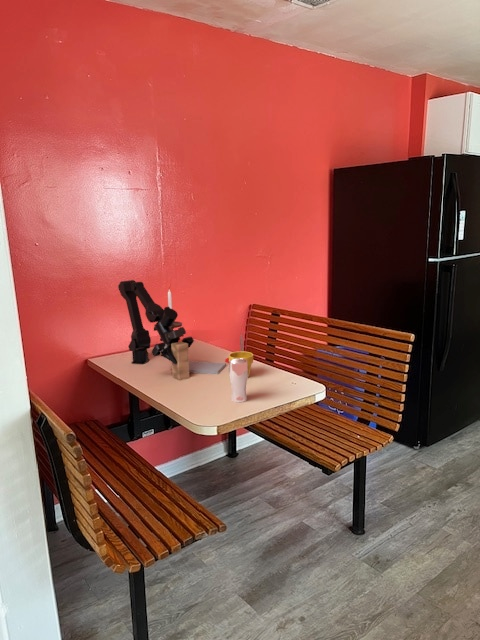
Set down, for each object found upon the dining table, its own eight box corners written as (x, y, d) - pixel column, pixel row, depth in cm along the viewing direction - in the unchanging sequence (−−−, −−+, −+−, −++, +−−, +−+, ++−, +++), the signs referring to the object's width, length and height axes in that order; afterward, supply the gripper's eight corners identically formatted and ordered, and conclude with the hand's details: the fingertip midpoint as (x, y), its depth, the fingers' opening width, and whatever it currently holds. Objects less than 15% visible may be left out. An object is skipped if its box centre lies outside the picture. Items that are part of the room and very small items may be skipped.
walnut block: (172, 377, 204) (171, 343, 201) (182, 374, 207) (181, 341, 204) (179, 380, 200) (178, 345, 197) (189, 377, 204) (188, 343, 201)
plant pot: (258, 377, 201) (257, 355, 199) (236, 382, 196) (236, 359, 194) (246, 371, 210) (245, 349, 208) (225, 375, 205) (224, 353, 203)
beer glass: (229, 396, 181) (228, 358, 178) (247, 395, 182) (246, 357, 179) (230, 403, 175) (229, 364, 171) (249, 402, 175) (248, 363, 172)
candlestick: (186, 348, 248) (182, 281, 241) (179, 354, 238) (175, 284, 231) (166, 348, 251) (162, 281, 243) (158, 353, 241) (154, 284, 233)
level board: (179, 371, 212) (178, 369, 212) (189, 363, 223) (189, 361, 223) (217, 374, 207) (217, 371, 207) (225, 365, 219) (225, 363, 218)
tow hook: (224, 364, 222) (244, 363, 221) (222, 337, 219) (242, 336, 219) (225, 359, 230) (245, 358, 229) (223, 333, 227) (243, 332, 227)
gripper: (153, 325, 196) (170, 356, 190) (190, 318, 208) (207, 347, 202) (144, 341, 203) (160, 371, 197) (180, 333, 215) (196, 361, 210)
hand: (182, 362), depth 201 cm, fingers closed on walnut block, 5 cm apart
